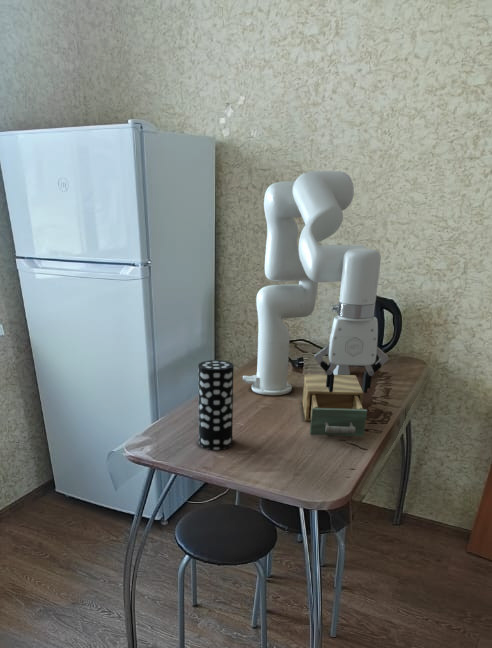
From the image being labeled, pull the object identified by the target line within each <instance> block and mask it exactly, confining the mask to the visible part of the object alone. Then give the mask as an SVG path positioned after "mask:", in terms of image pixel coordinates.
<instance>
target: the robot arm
mask: <svg viewBox="0 0 492 648" xmlns="http://www.w3.org/2000/svg"><path fill="white" fill-rule="evenodd" d="M354 194H355V186H354V182H353V180H352V177H351V176H350V175H349V174H348V172H345V171H342V170H341V171H340V170H313V171H311V170H310V171H307V172H304V173H302V174H300V175H299V176H298V177H297V178H295V180H287V181H286V180H285V181H278V182H274V183H272V184H270V185H269V186H268V187H267V189H266V190H265V193H264V198H263V209H264V215H265V216H264V217H265V221H266V228H267V231H266V243H265V254H264V255H265V256H264V275H265V278H267V279H268V280H269V281H271V282H298V283H294V284H291V283H290V284H289V283H287V284H286V283H285V284H271V285H266V286H263V287H262V288H260V289H259V290H258V292H257V293H256V298H255V299H256V300H255V301H256V302H255V304H256V312H257V323H258V324H257V325H258V326H257V327H258V329H257V330H258V331H257V332H258V333H257V334H258V335H257V359H256V361H257V363H256V372H255V374H252V375H242V383H245V384H251V390H252V392H254V393H256V394H259V395H264V396H283V395H288V394H289V393H291V392H292V390H293V389H292V388H293V386H292V385H291V384H290V383H289V382H288V372H289V359H290V358H289V357H290V356H289V355H290V342H291V341H290V339H291V334H290V330H289V328H288V327H287V326H286V324H285V322H284V321H283V320H284V319H290V318H292V319H295V318H306V317H309V316H310V315H312V313H314V310H315V307H316V302H317V294H318V288H319V283H335V282H338V283H340V289H339V299H338V303H337V304H332V305H331V312H333V313H336V315H335V316H334V318H333V321H332V325H331V330H330V334H329V335H330V336H329V341H328V344H327V345H326V346H324V347H323V348H321V349H320V350H319V351H318V352H316V353H315V354H314V355H313V356H314V360H315V361H316V362H317V364H318V365H319V366H320V368H321V369H322V370H323V371H324V372H325V373H326V375H327V379H326V387H328V389H329V392H333V384H334V373H333V371H334V370H335V368H336V367H337V365H348V366H354V367H356V366H357V367H359V366H360V367H362V366H363V367H364V368H365V371H364V372H363V377H362V385H361V389H362V391H363V394H367V393H368V389H371V385H372V377H373V376H374V375H375V373H376V372H377V371H379V370H381V368H382V366H384V365H385V364H386V363H387V362H388V361H389V359H390V358H389V356H388V355H387V353H385V352H384V351H383V350H382V349H381V348H379V347H378V340H379V339H378V337H379V322H378V318H377V317H376V316H375V309H376V301H377V292H378V285H379V276H380V269H381V261H382V256H381V253H380V252H379V250H376V249H373V248H368V247H367V246H365V245H362V244H328V245H327V244H325V245H320V244H319V243H320V242H322V241H324V240H326V239H328V238H330V237H332V236H333V235H335V233H336V232H337V231H338V230H339V229H340V228H341V226H342V224H343V220H344V213H343V211H345V210H347V209H348V207H350V205H351V204H352V202H353V199H354V196H355V195H354ZM295 218H302V220H303V222H304V224H305V225H304V227H303V228H302V230H301V232H300V235H299V226H298V224H297V222H296V219H295ZM298 237H299V240H298ZM326 355H327V357H328V361H329V363H327V362H326V361H325V360H324V358H323V357H325V356H326ZM377 356H378V357H379V359H378V360H377ZM376 360H377V361H376Z"/></svg>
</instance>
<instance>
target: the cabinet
mask: <svg viewBox="0 0 492 648" xmlns="http://www.w3.org/2000/svg"><path fill="white" fill-rule="evenodd" d="M303 377H304V380H303V391H302V409H303V415H304V421H305V422H311V417H310V406H311V394H336V395H357V396H358V398H359V400H360V403H361V405H362V406H363V398H364V392H363V390H362V385H361V384H360V381H359V379H358V377H357V375H355V374H350V375H334V384H333V392H329V389H328V387H326V379H327V374H319V373H318V374H317V373H316V374H314V373H305V374H304V376H303Z"/></svg>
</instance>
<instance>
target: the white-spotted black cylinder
mask: <svg viewBox="0 0 492 648" xmlns="http://www.w3.org/2000/svg"><path fill="white" fill-rule="evenodd" d="M197 373H198V375H197V377H198V378H197V380H198V381H197V383H198V387H197V388H198V391H197V392H198V445H199V446H200V447H202V448H203V449H207V450H213V451H214V450H216V451H217V450H219V451H220V450H225V449H227V448H230V447H231V446H232V445H233V421H234V420H233V418H234V417H233V416H234V363H232V362H230V361H228V360H220V359H212V360H211V359H210V360H204V361H201V362H199V363H198V364H197Z"/></svg>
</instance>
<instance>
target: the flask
mask: <svg viewBox="0 0 492 648" xmlns="http://www.w3.org/2000/svg"><path fill="white" fill-rule="evenodd" d="M333 373H334V375H351V371H350V367H349V365H337V367H336V368H335V370H334V371H333Z"/></svg>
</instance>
